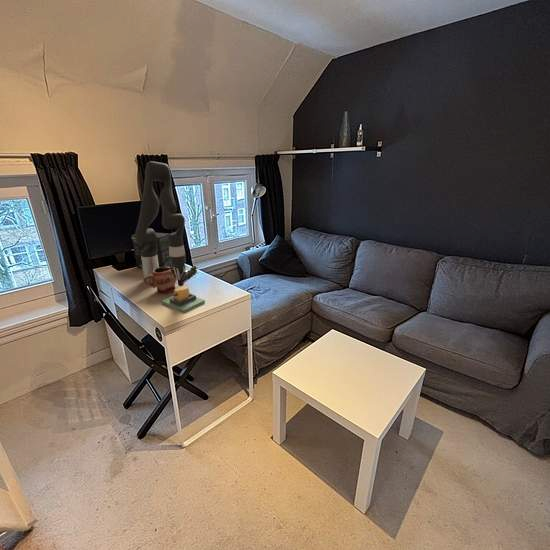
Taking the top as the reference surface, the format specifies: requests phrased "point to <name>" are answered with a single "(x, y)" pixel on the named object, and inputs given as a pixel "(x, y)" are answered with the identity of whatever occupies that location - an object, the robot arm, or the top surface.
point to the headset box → (161, 252)
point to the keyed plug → (181, 293)
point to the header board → (184, 303)
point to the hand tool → (191, 272)
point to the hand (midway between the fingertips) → (181, 285)
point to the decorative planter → (162, 280)
